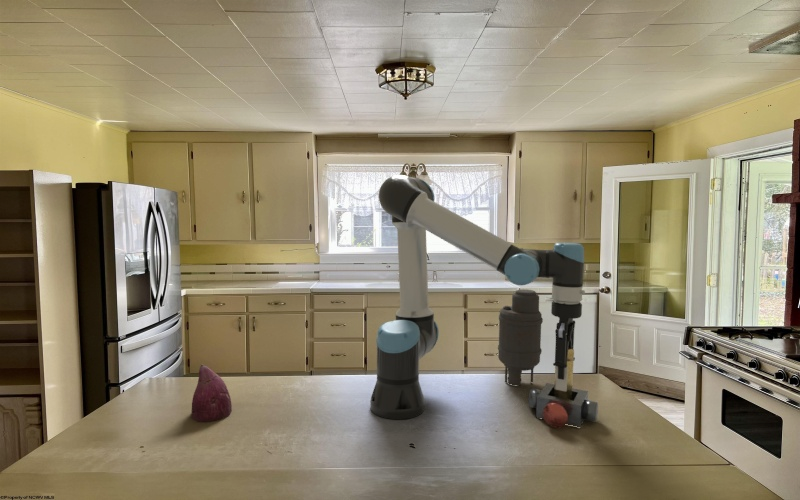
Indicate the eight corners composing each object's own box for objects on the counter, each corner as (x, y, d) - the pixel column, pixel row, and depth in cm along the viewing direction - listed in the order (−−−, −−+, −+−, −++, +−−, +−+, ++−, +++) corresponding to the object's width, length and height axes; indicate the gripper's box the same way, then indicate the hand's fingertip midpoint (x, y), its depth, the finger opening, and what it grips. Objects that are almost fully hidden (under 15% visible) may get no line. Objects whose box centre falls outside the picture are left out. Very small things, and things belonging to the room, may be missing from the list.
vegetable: (185, 429, 117) (167, 376, 115) (215, 408, 126) (198, 359, 124) (214, 427, 112) (195, 372, 111) (242, 406, 122) (225, 355, 120)
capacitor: (533, 394, 134) (536, 295, 131) (490, 384, 141) (493, 291, 139) (545, 380, 145) (548, 289, 143) (505, 371, 152) (507, 285, 150)
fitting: (551, 404, 119) (554, 349, 118) (555, 398, 123) (557, 345, 121) (569, 408, 116) (572, 352, 115) (573, 402, 120) (575, 348, 119)
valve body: (520, 420, 116) (521, 396, 116) (535, 400, 129) (536, 379, 128) (590, 438, 108) (591, 412, 107) (599, 415, 120) (600, 391, 120)
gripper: (575, 308, 108) (571, 401, 110) (587, 297, 123) (583, 379, 125) (544, 305, 112) (540, 394, 114) (559, 294, 127) (555, 374, 129)
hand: (563, 386), depth 119 cm, fingers closed on fitting, 4 cm apart
